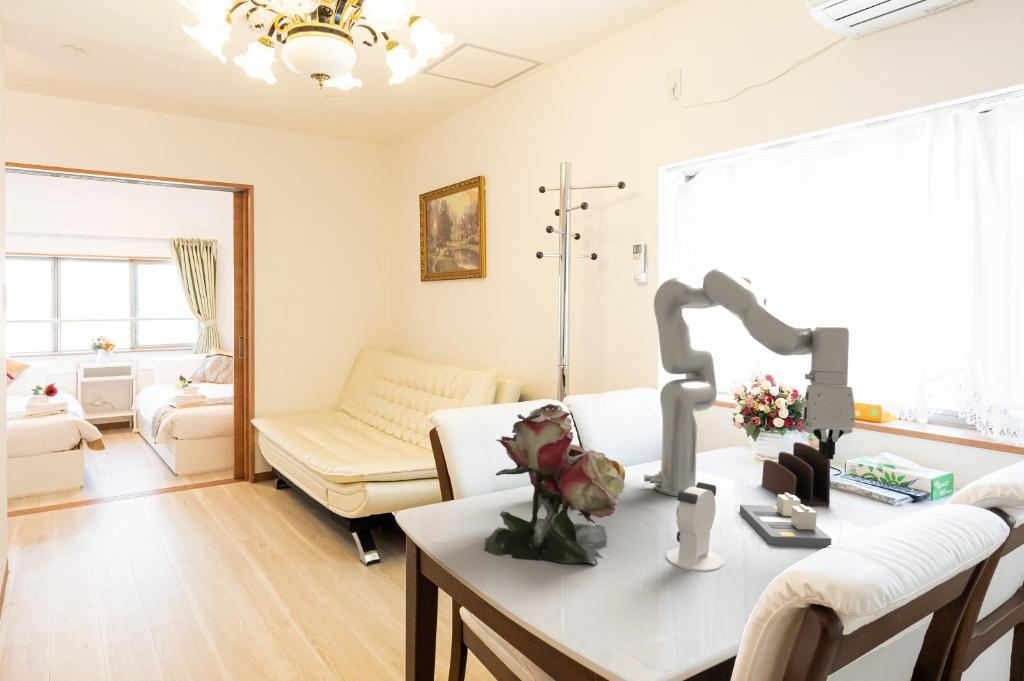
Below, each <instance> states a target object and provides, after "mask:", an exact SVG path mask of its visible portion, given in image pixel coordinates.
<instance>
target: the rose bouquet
mask: <svg viewBox="0 0 1024 681" xmlns="http://www.w3.org/2000/svg"><path fill="white" fill-rule="evenodd" d="M570 415H571V413H570V412H567V411H565V410H563V406H561V405H558V404H556V405H555V404H552V403H547V404H546V405H544V406H541V407H539V408H536V409H533V410H532V411H530V412H529V415H528V416H526V417H524V416H523V415H522V414H517V417H518V419H519V421H516V422H514V424H513V426H512V430H511V432H512V434H513V437H509V436H504V435H501V437H500V439H496V440H495V442H496V441H497V442H498V443H500V444H501V445H502V446H503V448H505V450H506V452H505V453H506V454H507V457H508V458H510V460H511V461H513V462H514V463H515V465H516V467H514V468H505V469H504V468H503V469H501V470H500V471H498V472H496V473H495V476H501V475H522V474H526V473H528V477H529V480H530V485H532V486H533V488H534V489H533V495H532V511H531V513H532V517H531V519H530V521H529V520H528V521H527V520H525V519H523V518H522V517H519V516H516V515H514V514H511V513H510V512H508V511H505V510H502V511H501V512H500V513H499V517H501V519H502V521H503V525H505V526H506V527H507V528H504V527H498V528H495V530H494V531H493V532H492V533H491V535H489V536H487V537H485V544H484V552H487V553H489V554H491V555H492V556H498V557H504V558H505V555H507V556H508V555H510V556H511V557H510V556H509V557H508V558H510V559H517V560H529V561H537V562H538V561H551V562H552V561H553V562H557V563H561V564H562V563H563V564H573V565H577V564H578V565H579V564H582V563H588V564H590V565H593V566H594V565H595V566H597V565H598V563H599V562H598V560H599V559H603V560H605V558H604V557H603V556H602V555H601V554H600V553H599V552H598V549H600V548H604V547H607V544H608V536H607V532H606V527H605V525H601V524H596V523H595V521H594V520H593V519H592V518H591V515H592V516H593V517H595V518H599V519H600V518H603V517H608V516H612V514H613V513H614V511H615V506H618V505H619V501H618V499H619V495H620V494H621V493H623V492H624V488H625V479H624V477H623V476H622V475H619V474H618V471H617V470H616V468H614V467H613V463H612V461H611V460H612V459H609V458H608V457H607V456H606V454H605V453H603V452H599V451H595V450H593V449H590V450H585V449H584V448H583V446H580V445H577V444H571V443H572V442H573V438H574V432H573V431H572V429H573V426H572V423H571V422H572V418H570V417H569V416H570ZM561 505H562V508H561V510H560V511H559V509H560V506H561ZM542 506H543V507H544V509H545V511H546V516H545V517H544V518H539V517H538V516H539V515H538V513H539V510H540V508H541V507H542ZM568 509H570V511H571V512H573V511H578V513H577V515H578V516H583V518H584V519H586V521H587V523H588V524H583V523H574V522H573V521H572V520H571V518H570V516H569V515H568ZM523 516H524V515H523ZM589 522H591V523H592V524H594V525H592V524H590V523H589ZM606 560H608V561H610V560H611V559H609V558H606Z"/></svg>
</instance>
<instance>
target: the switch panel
mask: <svg viewBox="0 0 1024 681" xmlns="http://www.w3.org/2000/svg"><path fill="white" fill-rule="evenodd" d="M739 513H740V514H741V516H743V517H744V518H745V520H747V522H748V523H749V524H750V525H751V526H752V527H753V528H754V529H755V530H756V531H757V532H758V533H759V534H760V535H761V537H763V539H764V540H765V541H766V542H768V544H769V545H770V546H779V545H781V547H782V546H785V547H805V546H811V548H828V547H827V546H829V545H831V546H832V537H830V536H829V535H828V534H827V533H825V531H823V530H822V529H820V528H819V527H818V526H817V525H816V530H810V529H797V528H796V527H795V526H794V525H793V524H792V523H791V516H783V515H781V514H780V513H779V512H778V511H777V505H761V504H740V505H739Z"/></svg>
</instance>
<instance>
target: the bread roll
mask: <svg viewBox="0 0 1024 681" xmlns="http://www.w3.org/2000/svg"><path fill="white" fill-rule="evenodd" d="M610 460H611V461H612V463H613V467H614V468H616V470H617V471H618V474H619V475H622V476H623V477H624V480H626V479H625V478H626V472H625V468H624V466H623V465H622V464H621V463H619V462H618V461H617V460H613V459H610Z"/></svg>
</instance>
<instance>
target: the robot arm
mask: <svg viewBox="0 0 1024 681" xmlns="http://www.w3.org/2000/svg"><path fill="white" fill-rule="evenodd" d="M653 298H654V299H653V309H654V310H653V311H654V316H655V319H656V324H657V325H656V326H657V329H658V340H659V342H658V344H659V348H660V349H659V350H660V360H661V365H662V367H663V369H664V370H665V372H666V373H668V374H670V375H685V378H679V379H678V378H677V379H673V380H671V381H669V382H667V383H665V385H663V387H662V388H661V391H660V396H659V398H660V407H661V415H662V434H661V435H662V437H661V439H662V441H661V466H660V470H658V473H655V474H652V475H651V474H643V481H644V482H648V483H650V484H654V489H655V490H656V491H657V492H658V493H659V492H660V493H661V494H665V495H668V496H673V497H674V496H675V497H678V493H679V491H683V492H684V491H685V490H686V489H688V488H689V487H696V486H697V484H696V479H697V478H696V476H697V473H696V472H697V453H698V424H697V421H696V418H695V415H694V413H695V412H701V411H702V412H703V411H707V410H709V409H710V408H712V407H713V406H714V405H715V402H716V400H717V383H716V375H715V366H714V364H715V363H714V359H713V355H712V351H711V350H710V348H709V347H708V346H707V345H706V344H705V342H704V343H703V342H702V341H699V340H692V339H691V335H690V327H689V322H688V320H687V317H686V316H685V314H684V312H683V309H699V310H700V309H701V310H702V309H709V308H713V307H718V306H722V307H723V308H724V309H726V310H727V311H728V312H730V313H732V315H733V316H735V317H737V319H739V320H740V321H741V322H742V324H743V327H744V328H745V330H746V332H747V333H748V335H749V336H751V337H752V338H753V339H754V340H755V341H757V342H758V343H760V344H761V345H762V346H764V347H765V348H766V349H768V350H769V351H771V352H772V353H774V354H777V355H779V356H783V357H784V356H787V357H788V356H805V355H811V363H810V364H811V366H810V370H809V373H805V374H804V379H805V380H809V382H810V383H808V384H807V387H806V391H805V396H804V401H803V409H802V410H803V411H802V422H803V426H802V431H803V432H804V433H808V434H811V435H814V436H815V437H816V439H817V440H818V450H819V454H820V456H821V457H822V458H824V459H830V460H834V456H835V454H836V443H837V442H838V441H839V439H840V438H841V437H842V436H843V435H849V434H852V433H853V428H854V427H855V425H856V424H855V423H856V411H855V410H856V409H855V399H854V398H855V397H854V393H853V387H852V385H850V384H848V380H849V378H848V376H849V370H848V368H849V348H850V347H849V345H850V344H849V343H850V342H849V341H850V340H849V339H850V338H849V337H850V331H849V328H848V327H847V326H845V325H840V324H839V325H835V324H819V325H817V324H811V323H797V322H795V323H792V322H791V323H788V322H785V321H783V320H782V319H780V318H779V317H777V316H776V315H774V313H772V312H771V311H770V310H768V309H767V308H766V305H767V297H766V295H765V293H764V292H762V291H761V290H759V289H758V288H756V287H755V286H753V282H752V278H751V277H750V275H749V274H748V273H746V272H745V271H743V270H741V269H736V268H728V267H727V268H726V267H719V268H713V269H711V270H709V271H708V272H706V274H705V275H704V277H703V278H695V277H673V278H669V279H667V280H665V281H664V282H663V283H661V285H660V286H659V287H658V289H657V290H656V293H655V294H654V297H653ZM827 430H828V431H827Z"/></svg>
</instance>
